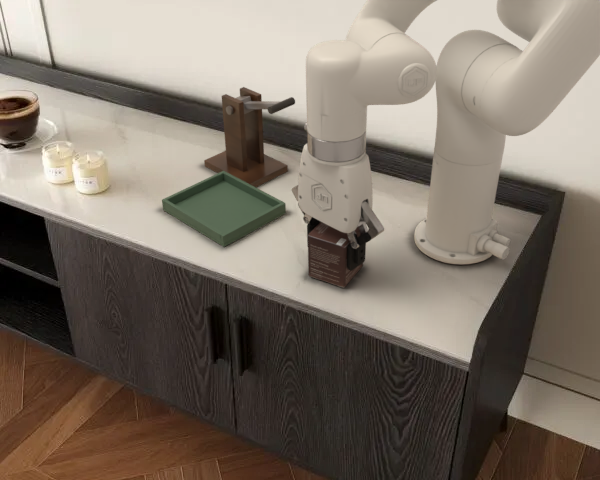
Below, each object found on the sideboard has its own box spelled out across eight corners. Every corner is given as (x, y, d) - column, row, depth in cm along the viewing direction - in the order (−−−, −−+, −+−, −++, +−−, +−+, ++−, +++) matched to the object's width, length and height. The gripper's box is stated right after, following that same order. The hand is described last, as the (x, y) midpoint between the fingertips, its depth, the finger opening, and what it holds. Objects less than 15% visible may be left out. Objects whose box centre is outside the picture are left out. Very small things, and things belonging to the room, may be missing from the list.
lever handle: (296, 108, 122) (293, 93, 120) (274, 118, 119) (270, 103, 118) (249, 107, 130) (246, 93, 129) (227, 116, 127) (223, 102, 126)
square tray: (285, 213, 123) (285, 202, 122) (224, 247, 116) (223, 236, 115) (224, 180, 132) (223, 170, 130) (163, 210, 124) (161, 199, 123)
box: (328, 255, 114) (327, 213, 109) (364, 266, 111) (365, 224, 107) (307, 276, 110) (306, 234, 105) (344, 289, 107) (344, 246, 103)
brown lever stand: (287, 171, 134) (286, 97, 125) (250, 190, 129) (245, 114, 120) (242, 149, 140) (237, 77, 132) (204, 166, 136) (197, 92, 127)
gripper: (268, 131, 100) (274, 242, 111) (369, 175, 90) (364, 292, 102) (308, 112, 104) (310, 221, 115) (408, 153, 95) (400, 268, 106)
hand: (335, 254), depth 109 cm, fingers closed on box, 6 cm apart
